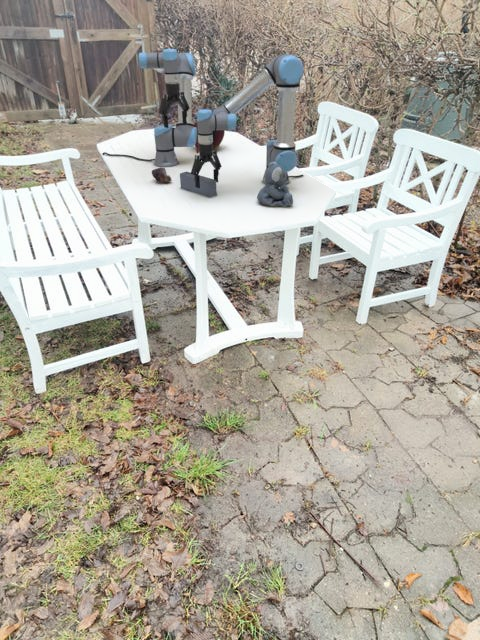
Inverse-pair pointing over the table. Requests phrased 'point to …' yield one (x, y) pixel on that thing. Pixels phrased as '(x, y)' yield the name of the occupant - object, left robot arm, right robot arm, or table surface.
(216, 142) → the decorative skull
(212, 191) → the bar
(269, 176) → the koala plush
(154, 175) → the rock
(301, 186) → the table surface
